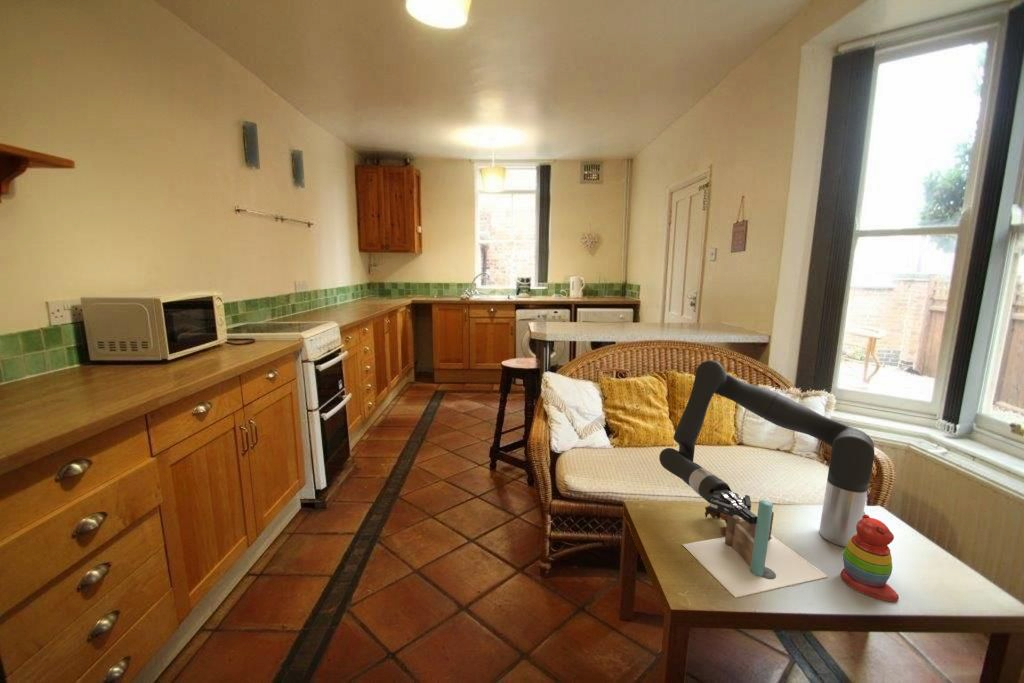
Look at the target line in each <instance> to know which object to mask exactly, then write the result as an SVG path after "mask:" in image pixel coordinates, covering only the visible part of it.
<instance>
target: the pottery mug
mask: <svg viewBox="0 0 1024 683" xmlns="http://www.w3.org/2000/svg"><path fill="white" fill-rule="evenodd" d="M704 508H705V512H704V517H705V518H708V517H709V516H708V515H710V517H712V518H713V519H716V518H717V519H718V518H719V519H721V520H723V521H725V524H726V525H727V519H728V515H726V514H723V513H720V512H717V511H715V510H712V509H710V505H707V506H705V507H704ZM724 510H725V509H724ZM726 528H727V526H724V527H720V532H721V536H723V535H724V537H726Z"/></svg>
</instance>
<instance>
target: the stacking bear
mask: <svg viewBox="0 0 1024 683" xmlns="http://www.w3.org/2000/svg"><path fill="white" fill-rule="evenodd" d="M856 531H857V534H856V535H854V536H853V537H852V538H850V540H849V541H848V543H847V545H846V547H844V549H843V554H842V556H843V557H842V558H843V560H842V561H843V567H844V568H843V569H842V570H841V572H840V575H841V576H840V577H841V579H842V580H843V582H844V583H845V584H846V585H848V586H849V587H850V588H851V589H854V590H855V591H857V592H859V593H861V594H863V595H866V596H868V597H872V598H874V597H875V599H879V600H882V601H887V602H893V603H894V602H898V600H899V598H900V595H899V594H898V593H897V591H896V590H895V589H894V588H892V586H890V585H889V584H888V583H887V582H888V580H889V579H890V577H891V575H892V572H893V558H892V552H891V548H890V547H889V545H891V543H893V541H894V538H895V536H894V533H893V532H892V531H891V530H890V528H889V527H888V526H887V525H886V524H885V523H884V522H883V521H881V520H880V519H877V518H874V517H870V515H868V514H866V513H865V515H863V516H862V519H861V520H860V521H859V522H858V523H857V526H856Z"/></svg>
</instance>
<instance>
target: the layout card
mask: <svg viewBox="0 0 1024 683" xmlns="http://www.w3.org/2000/svg"><path fill="white" fill-rule="evenodd" d="M725 537H726V536H723V537H717V538H711V539H706V540H705V539H704V540H699V541H694V542H689V543H688V542H687V543H683V544H682V545H683V546H684V547H685V548H686V549H687V550H688V551H689V552H690V553H691V554H692V555H693V556H694V557H695V558H696V559H697V560H698V561H697V562H699V564H700V565H701V566H702V567H704V568H705V570H706V571H708V573H709V574H711V575H712V577H714V578H715V580H717V581H718V582H719V584H720V585H722V586H723V587H724V588H725V589H726V590H727V591H728V592H729V593H730V594H731V595H732V596H733V598H734V599H736V598H741V597H745V596H752V595H755V594H760V593H764V592H770V591H773V590H778V589H782V588H787V587H790V586H795V585H800V584H804V583H809V582H813V581H818V580H823V579H828V578H829V576H828V575H827V574H826V573H824V572H823V571H822V570H820V569H819V568H818V567H816V566H814V565H813V564H812V563H810V562H809V561H808V560H806V559H805V558H803V557H802V556H801V555H800V554H798V553H797V552H796V551H794V550H793V549H791V548H790V547H788V546H787V545H786V544H784V543H783V542H781V541H780V540H779V539H778V538H776V537H774V536H773V535H772V534H771V538H770V540H769V541H768V546H767V553H766V560H765V568H764V575H763V576H757V575H755V574H753V573H752V572H751V571H750V569H751V567H750V566H749V565H748V564H747V562H746V561H745V560H744V559H743V558H742V557H741V556H740V554H739V553H738V552H737V551H736V550H735V549H734V547H730V546H728V545H726V544H725ZM683 546H682V547H683ZM684 547H683V548H684ZM685 548H684V549H685ZM686 549H685V550H686ZM687 550H686V551H687ZM688 551H687V552H688ZM689 552H688V553H689ZM690 553H689V554H690ZM691 554H690V555H691ZM692 555H691V556H692ZM693 556H692V557H693ZM694 557H693V558H694ZM696 559H695V560H696Z"/></svg>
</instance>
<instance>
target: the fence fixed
mask: <svg viewBox="0 0 1024 683" xmlns="http://www.w3.org/2000/svg"><path fill="white" fill-rule="evenodd" d="M774 514H775V513H774V511H773V510H772V516H771V523H770V531H769V538H768V541H769V540H770V538H771V535H772V530H773V529H772V528H773V523H774V522H773V521H774ZM735 524H740V525H741V526H742V527H743V528H744V529H745V530H746V531H747V532H748V533H749V534H750V535H751V537H752V538H753V539H754V537H755V530H756V524H749V523H748V522H746V521H745V520H744V519H742V518H741V517H737V516H736V515H734V516H729V515H728V519H727V524H726V527H727V528H726V536H724V537H725V544H726V545H728V546H730V547H733V546H732V545H733V537H734V529H735Z"/></svg>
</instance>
